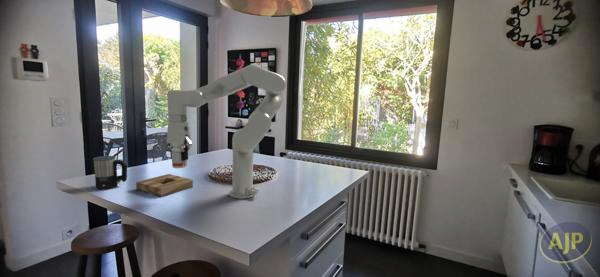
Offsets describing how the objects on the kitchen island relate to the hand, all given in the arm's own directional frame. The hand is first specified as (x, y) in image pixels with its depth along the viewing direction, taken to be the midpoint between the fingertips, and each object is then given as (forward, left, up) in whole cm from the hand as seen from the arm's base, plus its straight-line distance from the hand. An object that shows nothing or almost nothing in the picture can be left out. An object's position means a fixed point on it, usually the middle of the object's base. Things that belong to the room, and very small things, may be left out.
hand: (179, 158), depth 130 cm
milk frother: (+43, +6, -18) cm, 47 cm away
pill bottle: (0, 0, -4) cm, 4 cm away
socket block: (+16, -5, -18) cm, 25 cm away
